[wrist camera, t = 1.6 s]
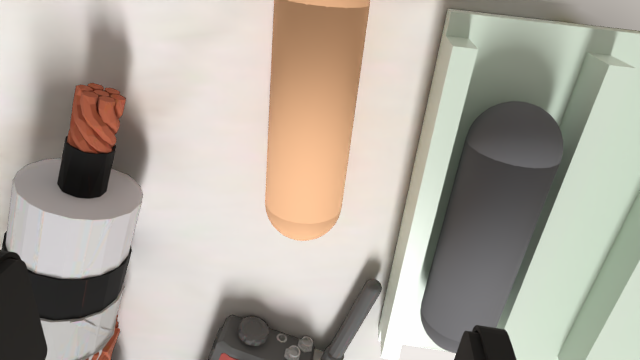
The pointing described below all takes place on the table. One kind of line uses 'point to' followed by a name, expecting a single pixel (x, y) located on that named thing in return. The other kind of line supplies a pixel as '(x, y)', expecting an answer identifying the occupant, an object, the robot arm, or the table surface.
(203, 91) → the table surface
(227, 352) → the walkie-talkie
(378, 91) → the table surface
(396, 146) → the table surface
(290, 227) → the tan capsule
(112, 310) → the cable
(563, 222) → the rack
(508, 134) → the gray pill-shaped rod
